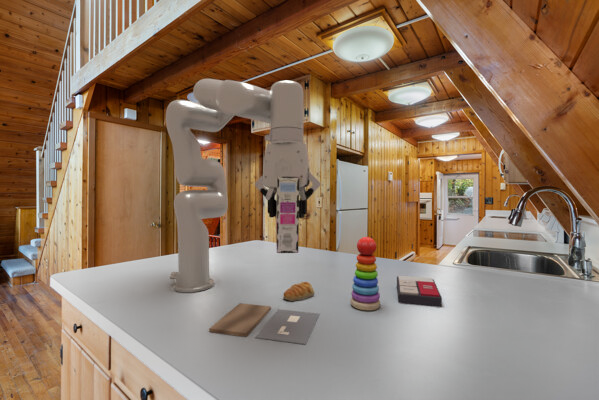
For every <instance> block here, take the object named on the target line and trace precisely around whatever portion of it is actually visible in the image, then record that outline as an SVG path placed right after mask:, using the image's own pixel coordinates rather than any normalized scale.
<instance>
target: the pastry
mask: <svg viewBox="0 0 599 400" xmlns="http://www.w3.org/2000/svg"><path fill="white" fill-rule="evenodd" d="M314 295H315V290H314V288H313V287H312V284H311V283H309V282H307V281H304V282H303V281H301V283H300V282H299V283H295V284H292V285H291V287H289V288H287V289H286V290H285V291H284V292H283V299H284V300H287V301H291V302H296V301H303V300H306V299H309V298H312V297H314Z"/></svg>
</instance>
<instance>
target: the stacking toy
mask: <svg viewBox="0 0 599 400" xmlns="http://www.w3.org/2000/svg"><path fill="white" fill-rule="evenodd" d="M356 248H357V252H359V254H357V256H356V260H357V262H356V263H355V267H356V269H355V270H354V277H353V279H352V282H353V284H352V287H351V289H352V291H351V298H350V301H349V302H350V304H351V306H353V308H355V309H358V310H361V311H367V312H368V311H375V310H377V309H379V308H380V306H381V300H380V296H381V295H380V293H379V291H380V289H379V287H380V286H379V285H378V284H379V279H378V278H377V277H378V271H377V269H378V265H377V263H376V262H377V261H376V260H377V257H376V256H375V255H374V253H375V252H376V250H377V243H376V241H375V240H374V239H373V238H372V237H370V236H365V237H361V238H360V239H359V240H358V241H357V244H356Z"/></svg>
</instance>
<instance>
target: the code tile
mask: <svg viewBox="0 0 599 400" xmlns="http://www.w3.org/2000/svg"><path fill="white" fill-rule="evenodd" d="M319 316H320V313H319V312H307V311H297V310H290V309H279V308H277V310H276V312H275V313H274V314H273V315H272V316H271V317H270V318H269V320H268V321H267V322H266V324H265V325H264V326H263V327H262V328H261V329H260V331H259V332H258V333H257V334H256V335H255V337H254V338H255V339H259V340H267V341H274V342H283V343H290V344H297V345H306V344H307V342H308V340H309V338H310V336H311V334H312V332H313V329H314V327H315V325H316V322H317V321H318V320H319V319H318V318H319Z"/></svg>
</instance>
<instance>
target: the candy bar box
mask: <svg viewBox="0 0 599 400" xmlns="http://www.w3.org/2000/svg"><path fill="white" fill-rule="evenodd" d="M299 200H300V195H299V177H287V176H286V177H277V192H276V201H277V208H276V209H277V215H276V216H275V218H276V219H275V220H276V227H275V228H276V234H275V235H276V236H275V237H276V243H275V244H276V253H277V254H298V253H299V242H300V241H299V238H300V237H299V236H300V235H299V233H300V232H299V231H300V228H299V227H300V223H299V222H300V218H299Z"/></svg>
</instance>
